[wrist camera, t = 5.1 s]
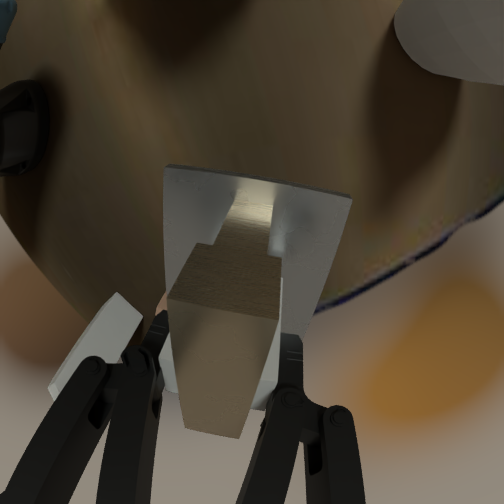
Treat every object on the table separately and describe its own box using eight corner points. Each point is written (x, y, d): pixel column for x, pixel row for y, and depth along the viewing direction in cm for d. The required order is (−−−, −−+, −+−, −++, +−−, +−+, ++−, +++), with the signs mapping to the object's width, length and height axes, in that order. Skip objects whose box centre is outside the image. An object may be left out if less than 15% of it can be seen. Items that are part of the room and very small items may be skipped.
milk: (103, 305, 41) (36, 403, 23) (117, 290, 39) (42, 400, 20) (128, 328, 43) (71, 429, 24) (144, 316, 41) (82, 430, 22)
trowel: (169, 163, 14) (60, 243, 6) (349, 194, 14) (412, 309, 6) (172, 317, 20) (131, 416, 13) (298, 341, 20) (296, 449, 13)
